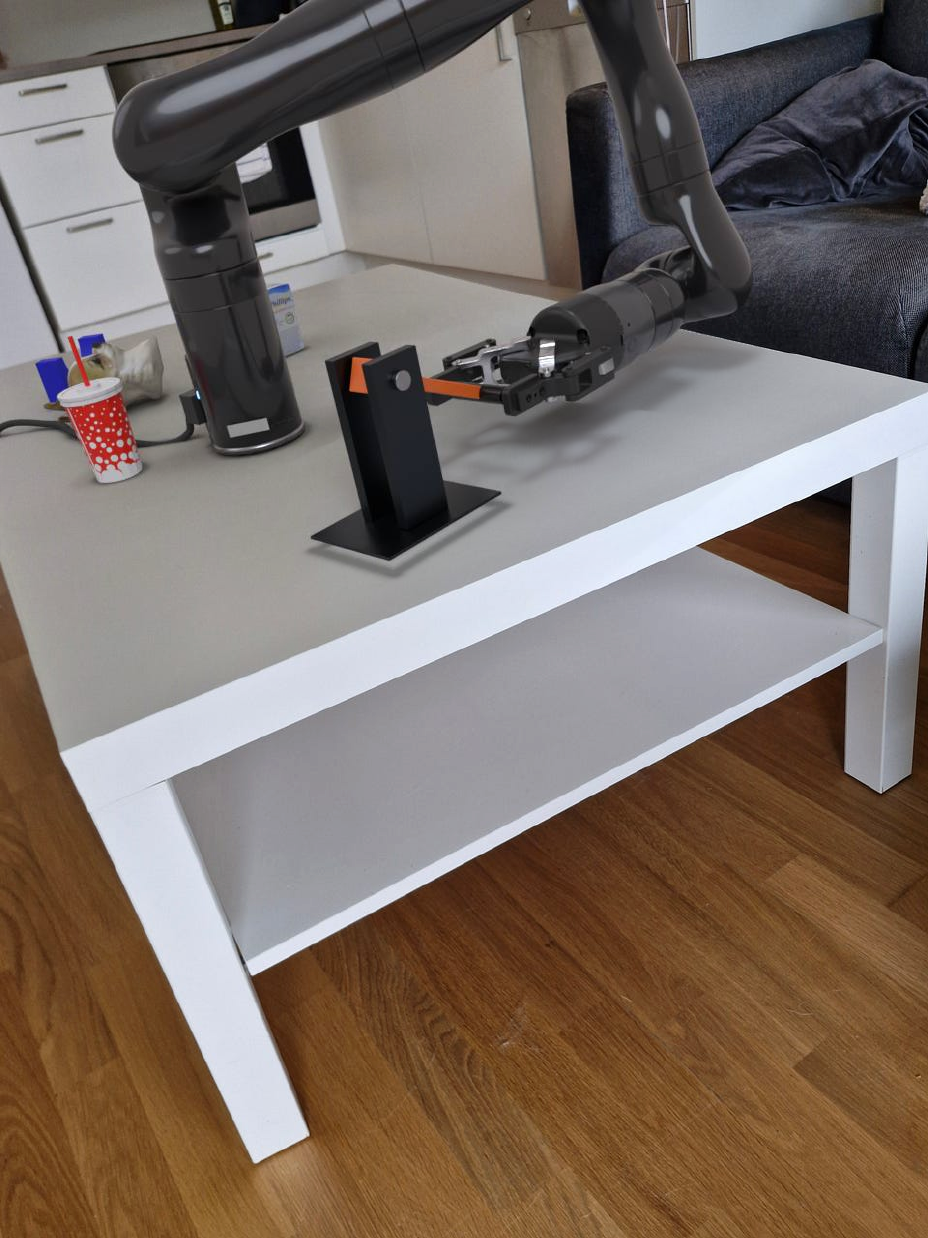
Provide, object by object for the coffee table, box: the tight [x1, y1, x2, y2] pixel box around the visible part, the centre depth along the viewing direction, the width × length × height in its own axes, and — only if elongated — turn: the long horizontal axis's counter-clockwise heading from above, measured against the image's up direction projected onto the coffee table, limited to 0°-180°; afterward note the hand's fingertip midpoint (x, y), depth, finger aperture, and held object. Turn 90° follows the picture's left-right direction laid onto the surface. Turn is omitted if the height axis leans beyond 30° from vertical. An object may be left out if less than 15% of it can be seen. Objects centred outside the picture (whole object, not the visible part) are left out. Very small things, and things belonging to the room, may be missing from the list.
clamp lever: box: [349, 357, 507, 406], centre depth 78 cm, size 13×6×2 cm, turn 136°
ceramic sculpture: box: [42, 334, 165, 424], centre depth 124 cm, size 11×9×15 cm
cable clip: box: [34, 333, 107, 403], centre depth 136 cm, size 12×4×6 cm, turn 168°
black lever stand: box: [310, 341, 502, 562], centre depth 76 cm, size 12×9×14 cm
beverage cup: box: [57, 335, 144, 484], centre depth 101 cm, size 6×6×14 cm
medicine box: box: [265, 283, 306, 357], centre depth 136 cm, size 8×4×9 cm, turn 49°
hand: (466, 399), depth 81 cm, fingers open, 8 cm apart
